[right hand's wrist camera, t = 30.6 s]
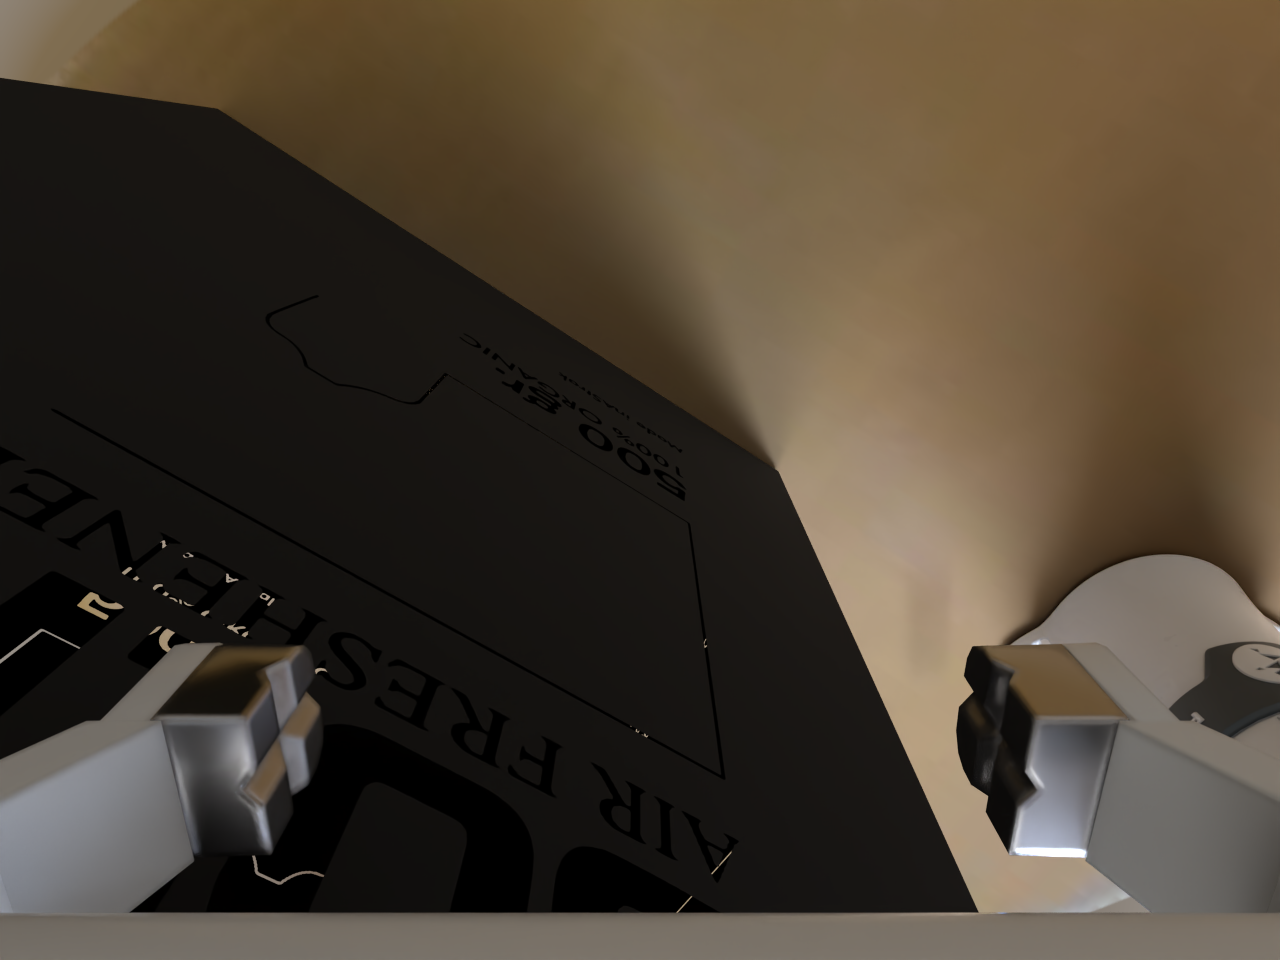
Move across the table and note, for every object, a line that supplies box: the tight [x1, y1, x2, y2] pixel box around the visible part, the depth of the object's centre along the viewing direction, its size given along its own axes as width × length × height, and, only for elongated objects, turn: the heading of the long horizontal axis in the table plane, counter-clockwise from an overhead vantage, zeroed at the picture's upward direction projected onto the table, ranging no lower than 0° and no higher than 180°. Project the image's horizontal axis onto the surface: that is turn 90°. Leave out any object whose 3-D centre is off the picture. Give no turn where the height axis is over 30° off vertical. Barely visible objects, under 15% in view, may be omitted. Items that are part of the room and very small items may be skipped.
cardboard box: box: [0, 78, 979, 913], centre depth 30 cm, size 38×20×45 cm, turn 57°
